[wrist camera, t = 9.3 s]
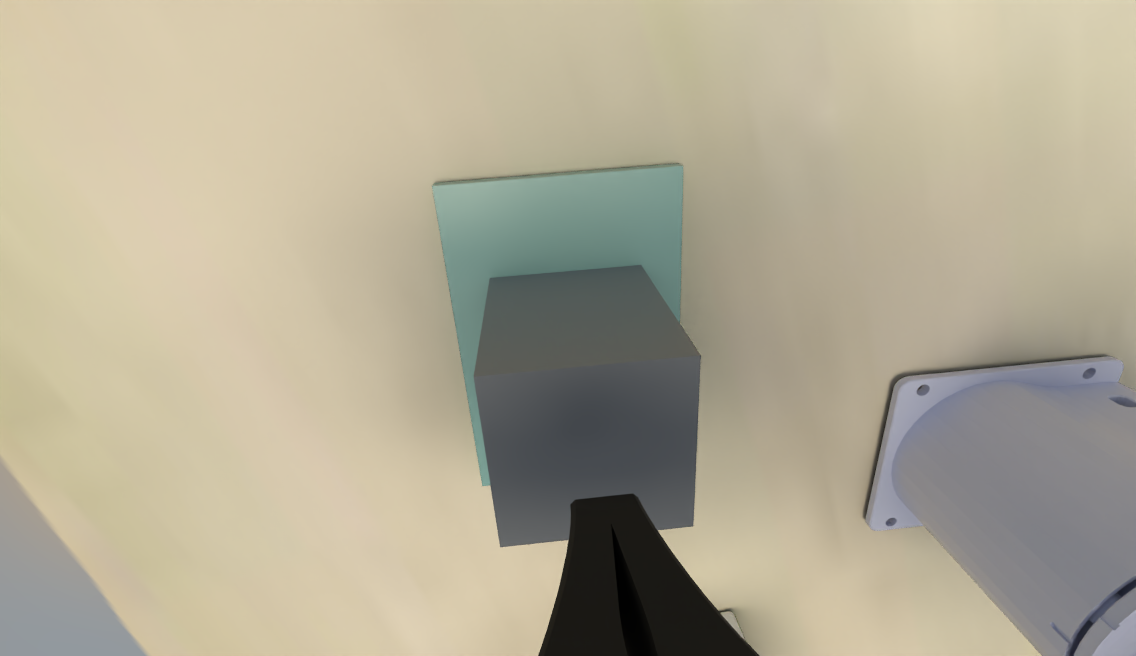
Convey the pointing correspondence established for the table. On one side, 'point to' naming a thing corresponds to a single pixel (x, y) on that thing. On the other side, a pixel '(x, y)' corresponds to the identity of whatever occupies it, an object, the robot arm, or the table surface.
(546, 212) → the teal base stand
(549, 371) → the dark grey block
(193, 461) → the table surface
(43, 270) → the table surface
